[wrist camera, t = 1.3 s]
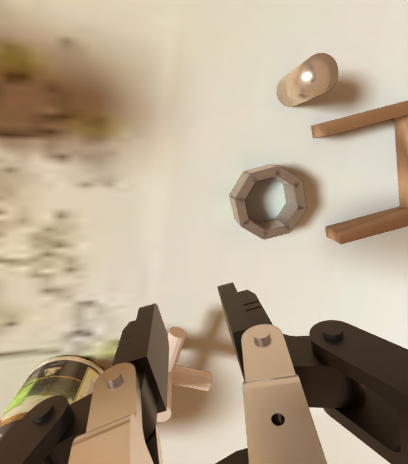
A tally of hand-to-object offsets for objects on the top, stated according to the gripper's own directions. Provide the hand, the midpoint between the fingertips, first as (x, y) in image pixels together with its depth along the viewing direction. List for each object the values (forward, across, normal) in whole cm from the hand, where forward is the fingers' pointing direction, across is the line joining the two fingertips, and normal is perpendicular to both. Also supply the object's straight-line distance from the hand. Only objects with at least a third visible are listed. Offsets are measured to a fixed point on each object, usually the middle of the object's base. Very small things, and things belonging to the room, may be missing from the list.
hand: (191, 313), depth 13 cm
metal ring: (+19, -9, 0) cm, 21 cm away
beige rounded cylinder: (+19, -14, -10) cm, 26 cm away
